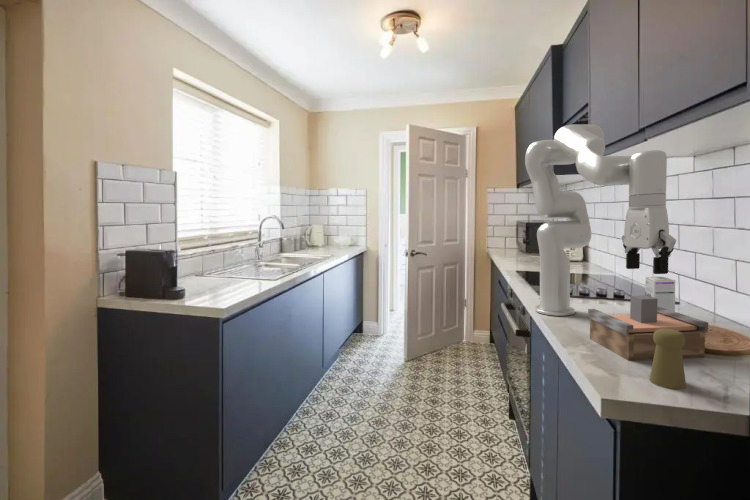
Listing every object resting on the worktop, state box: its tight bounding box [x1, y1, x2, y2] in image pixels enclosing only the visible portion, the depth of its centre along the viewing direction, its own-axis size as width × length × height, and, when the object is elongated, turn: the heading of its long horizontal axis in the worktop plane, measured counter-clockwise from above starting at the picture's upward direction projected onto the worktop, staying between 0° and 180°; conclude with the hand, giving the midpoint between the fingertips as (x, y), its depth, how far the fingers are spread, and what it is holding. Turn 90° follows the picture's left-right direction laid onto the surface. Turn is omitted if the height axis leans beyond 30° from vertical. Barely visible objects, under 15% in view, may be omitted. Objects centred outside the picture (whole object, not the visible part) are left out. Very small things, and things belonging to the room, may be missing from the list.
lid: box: [609, 294, 697, 333], centre depth 98 cm, size 12×17×7 cm
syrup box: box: [644, 276, 676, 312], centre depth 115 cm, size 6×6×14 cm
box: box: [587, 306, 709, 361], centre depth 98 cm, size 16×19×8 cm
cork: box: [649, 329, 687, 390], centre depth 78 cm, size 6×6×11 cm
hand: (646, 271), depth 97 cm, fingers open, 9 cm apart
